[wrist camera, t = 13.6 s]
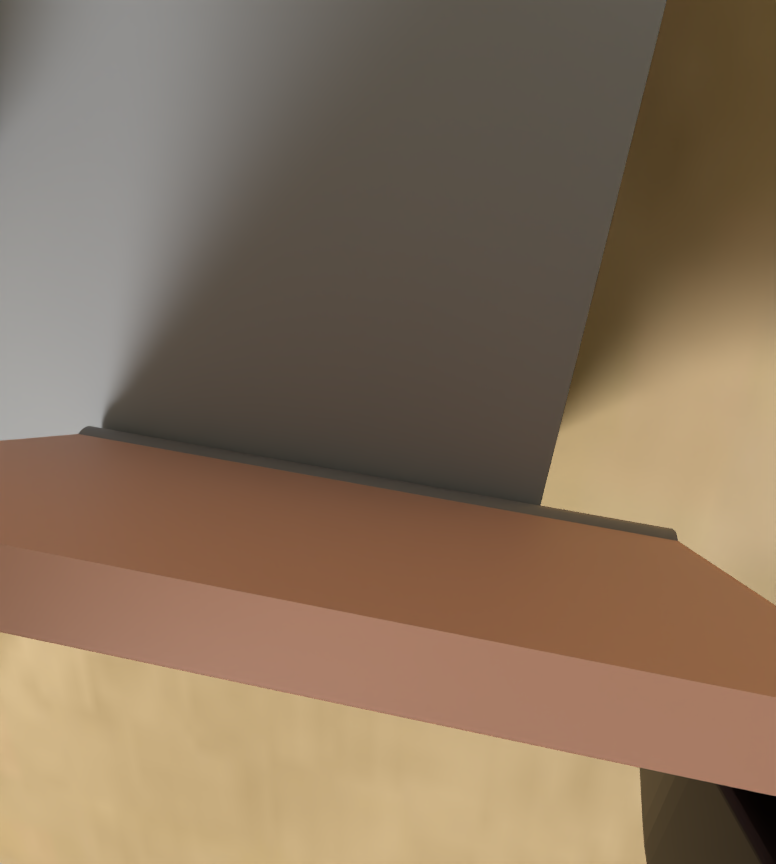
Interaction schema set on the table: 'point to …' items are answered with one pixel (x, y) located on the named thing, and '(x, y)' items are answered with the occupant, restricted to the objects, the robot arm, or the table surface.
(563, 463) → the table surface
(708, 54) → the table surface
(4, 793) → the table surface
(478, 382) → the hitch block
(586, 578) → the latch flap
